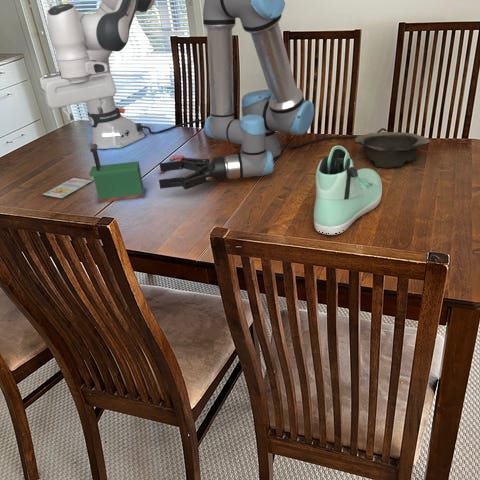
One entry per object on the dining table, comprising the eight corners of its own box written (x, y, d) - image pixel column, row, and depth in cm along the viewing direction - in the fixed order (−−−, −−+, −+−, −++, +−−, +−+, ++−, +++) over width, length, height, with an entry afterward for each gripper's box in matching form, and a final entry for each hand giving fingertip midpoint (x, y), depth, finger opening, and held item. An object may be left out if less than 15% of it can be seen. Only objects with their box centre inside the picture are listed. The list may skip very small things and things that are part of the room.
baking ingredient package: (42, 193, 161) (73, 176, 172) (42, 194, 161) (73, 178, 173) (61, 197, 157) (92, 180, 169) (62, 198, 158) (92, 181, 169)
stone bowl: (388, 178, 153) (388, 150, 149) (339, 160, 173) (338, 135, 169) (444, 159, 162) (447, 132, 158) (392, 144, 182) (392, 120, 178)
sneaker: (389, 187, 148) (396, 123, 138) (356, 242, 123) (361, 168, 112) (346, 181, 154) (350, 119, 144) (306, 232, 129) (307, 161, 118)
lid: (90, 176, 149) (83, 149, 145) (92, 169, 154) (86, 143, 150) (138, 171, 150) (132, 144, 146) (139, 164, 155) (134, 138, 151)
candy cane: (149, 171, 173) (148, 167, 172) (176, 156, 183) (176, 153, 182) (161, 174, 170) (160, 170, 169) (188, 159, 180) (188, 155, 179)
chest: (99, 202, 154) (93, 176, 149) (102, 194, 159) (95, 169, 154) (143, 197, 155) (138, 171, 150) (144, 189, 160) (139, 164, 155)
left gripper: (40, 77, 129) (54, 127, 136) (112, 64, 138) (122, 111, 145) (35, 73, 133) (48, 122, 141) (105, 61, 142) (114, 107, 150)
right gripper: (230, 194, 146) (161, 203, 145) (222, 164, 168) (162, 171, 166) (228, 172, 143) (157, 180, 141) (220, 143, 164) (158, 150, 162)
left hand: (86, 116), depth 143 cm, fingers open, 8 cm apart
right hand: (159, 175), depth 154 cm, fingers open, 13 cm apart
